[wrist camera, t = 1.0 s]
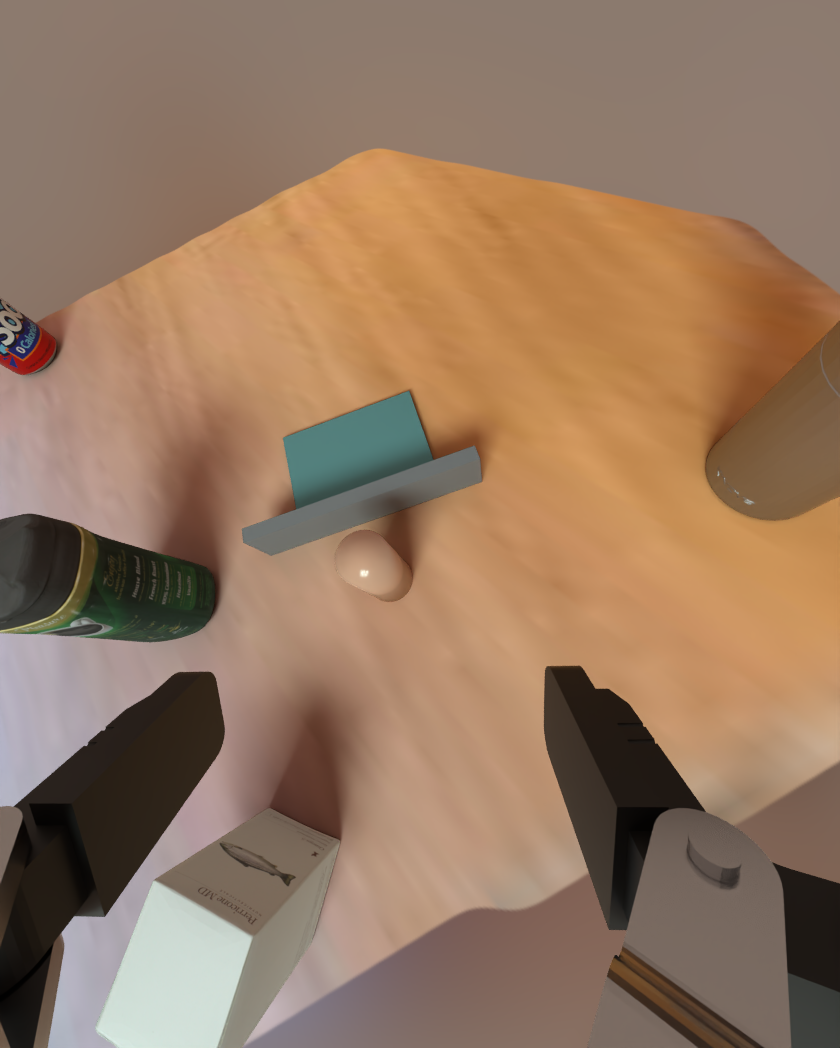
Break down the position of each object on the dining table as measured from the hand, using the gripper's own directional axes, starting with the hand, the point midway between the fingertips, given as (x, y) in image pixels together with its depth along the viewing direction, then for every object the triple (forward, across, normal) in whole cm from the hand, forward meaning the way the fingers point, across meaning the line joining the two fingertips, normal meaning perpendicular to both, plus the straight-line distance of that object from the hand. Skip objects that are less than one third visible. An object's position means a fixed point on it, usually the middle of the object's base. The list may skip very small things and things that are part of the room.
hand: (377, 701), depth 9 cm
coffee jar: (+30, +27, +10) cm, 42 cm away
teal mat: (+37, +8, -5) cm, 38 cm away
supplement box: (+17, +12, +28) cm, 35 cm away
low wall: (+33, +6, +1) cm, 33 cm away
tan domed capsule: (+29, +4, +7) cm, 30 cm away
